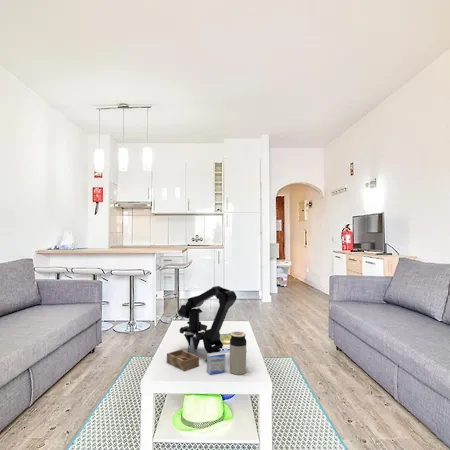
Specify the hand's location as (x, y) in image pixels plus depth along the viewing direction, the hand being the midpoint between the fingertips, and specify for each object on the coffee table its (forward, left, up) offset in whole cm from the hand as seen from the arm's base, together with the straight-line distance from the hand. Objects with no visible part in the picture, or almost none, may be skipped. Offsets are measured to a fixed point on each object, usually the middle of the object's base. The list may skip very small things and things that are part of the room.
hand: (193, 348), depth 172 cm
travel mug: (-32, -1, -3) cm, 32 cm away
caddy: (-7, +13, -3) cm, 15 cm away
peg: (0, 0, -2) cm, 2 cm away
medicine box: (-25, +7, -3) cm, 26 cm away
